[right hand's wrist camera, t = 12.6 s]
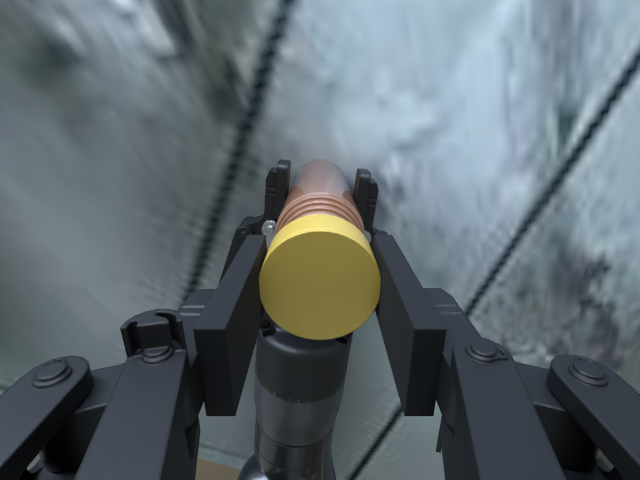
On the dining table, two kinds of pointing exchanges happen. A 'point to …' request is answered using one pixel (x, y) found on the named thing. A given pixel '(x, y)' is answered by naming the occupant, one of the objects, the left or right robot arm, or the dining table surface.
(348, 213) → the bottle
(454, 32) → the dining table surface
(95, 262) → the dining table surface
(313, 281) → the cap
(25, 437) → the right robot arm
